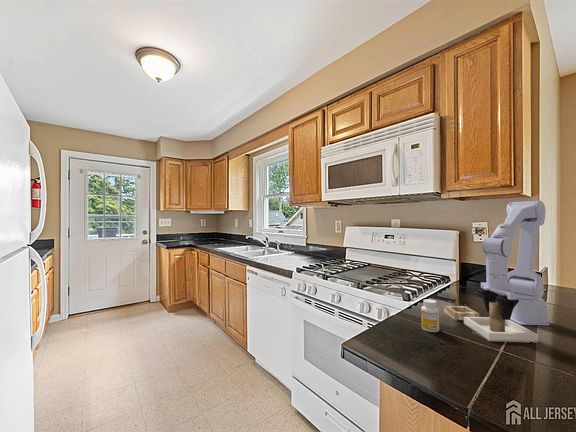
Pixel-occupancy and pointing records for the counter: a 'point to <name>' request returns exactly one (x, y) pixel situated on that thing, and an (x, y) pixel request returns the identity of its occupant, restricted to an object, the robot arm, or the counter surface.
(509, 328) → the tray
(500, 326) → the wooden dowel
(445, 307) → the collar
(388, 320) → the counter surface
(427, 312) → the supplement bottle
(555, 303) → the counter surface
